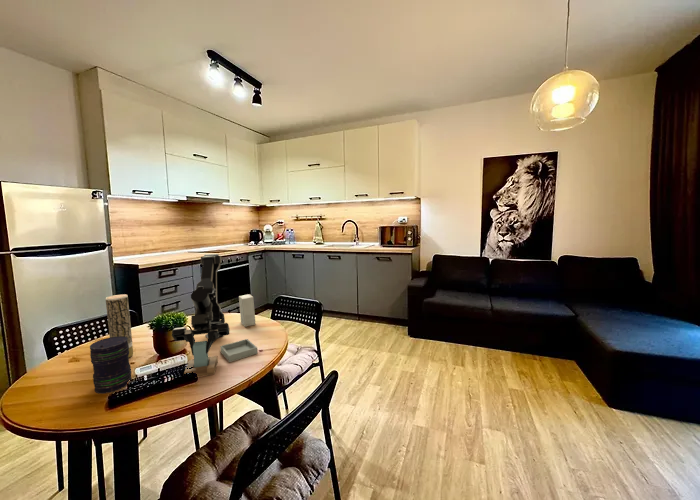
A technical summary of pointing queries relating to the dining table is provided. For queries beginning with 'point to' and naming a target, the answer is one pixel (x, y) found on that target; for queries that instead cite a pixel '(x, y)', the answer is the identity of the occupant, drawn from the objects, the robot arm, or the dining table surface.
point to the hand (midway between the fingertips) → (200, 354)
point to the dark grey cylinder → (110, 364)
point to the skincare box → (247, 310)
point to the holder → (205, 369)
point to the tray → (238, 350)
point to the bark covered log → (119, 318)
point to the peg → (200, 354)
